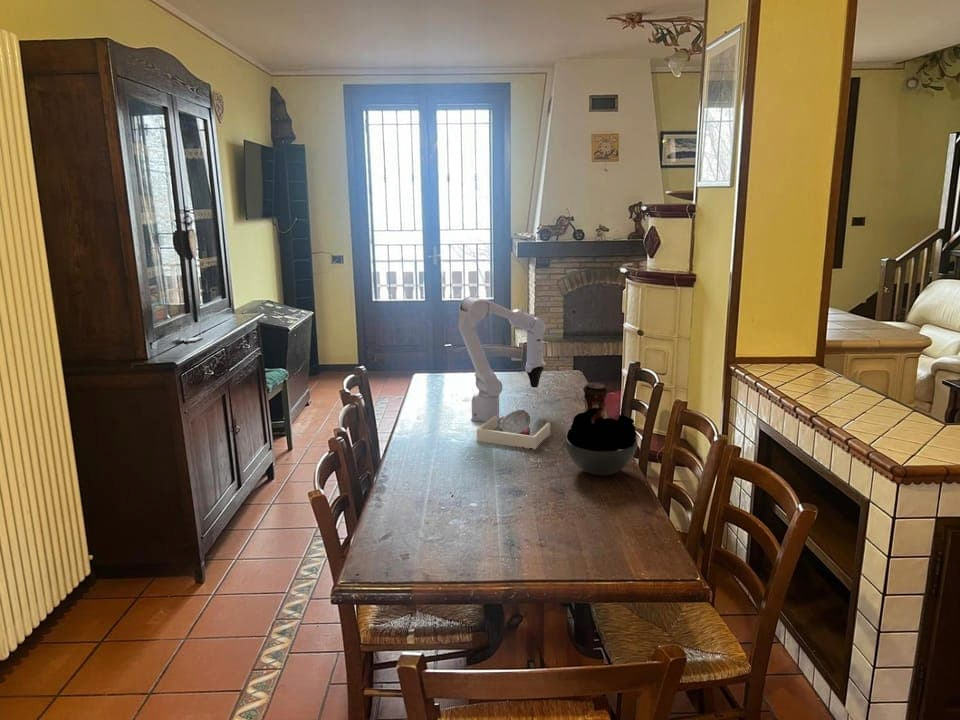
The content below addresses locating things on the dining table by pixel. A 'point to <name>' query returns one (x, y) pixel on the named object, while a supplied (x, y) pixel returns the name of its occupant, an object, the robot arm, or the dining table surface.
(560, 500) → the dining table surface
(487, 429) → the box
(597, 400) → the coffee cup
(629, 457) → the bowl of black rocks
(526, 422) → the canned food
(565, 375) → the dining table surface
